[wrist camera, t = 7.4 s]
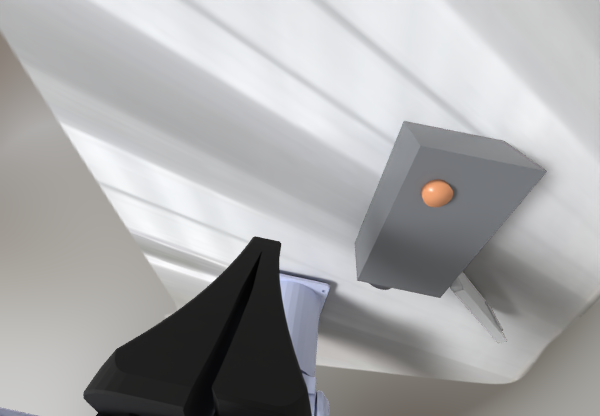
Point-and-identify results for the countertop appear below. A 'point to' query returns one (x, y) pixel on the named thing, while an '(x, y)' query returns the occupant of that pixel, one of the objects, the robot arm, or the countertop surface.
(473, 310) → the side door
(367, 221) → the grey box
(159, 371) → the robot arm
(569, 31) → the countertop surface
